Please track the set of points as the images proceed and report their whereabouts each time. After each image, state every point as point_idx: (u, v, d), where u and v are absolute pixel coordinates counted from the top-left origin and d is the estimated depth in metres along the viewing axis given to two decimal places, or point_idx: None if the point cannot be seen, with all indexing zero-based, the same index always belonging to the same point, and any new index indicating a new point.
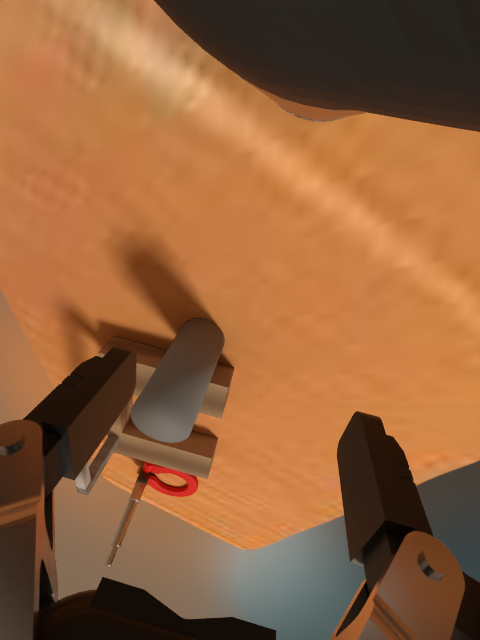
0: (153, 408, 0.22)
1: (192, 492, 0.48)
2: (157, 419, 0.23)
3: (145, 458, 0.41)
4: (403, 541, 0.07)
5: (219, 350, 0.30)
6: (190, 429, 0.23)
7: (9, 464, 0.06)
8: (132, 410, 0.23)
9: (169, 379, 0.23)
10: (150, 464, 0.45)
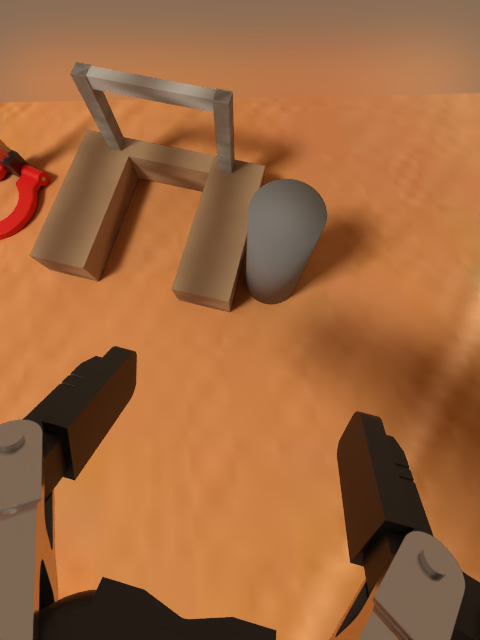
0: (311, 208, 0.19)
1: None
2: (292, 209, 0.19)
3: (73, 174, 0.29)
4: (403, 541, 0.07)
5: (274, 296, 0.27)
6: (281, 246, 0.18)
7: (9, 464, 0.06)
8: (301, 183, 0.19)
9: None
10: (40, 178, 0.31)
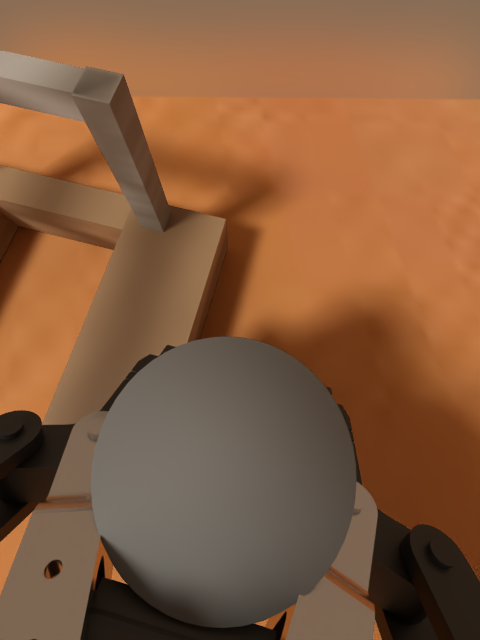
0: (303, 451, 0.06)
1: None
2: (241, 456, 0.06)
3: None
4: None
5: None
6: (192, 617, 0.05)
7: (93, 452, 0.07)
8: (275, 353, 0.06)
9: None
10: None
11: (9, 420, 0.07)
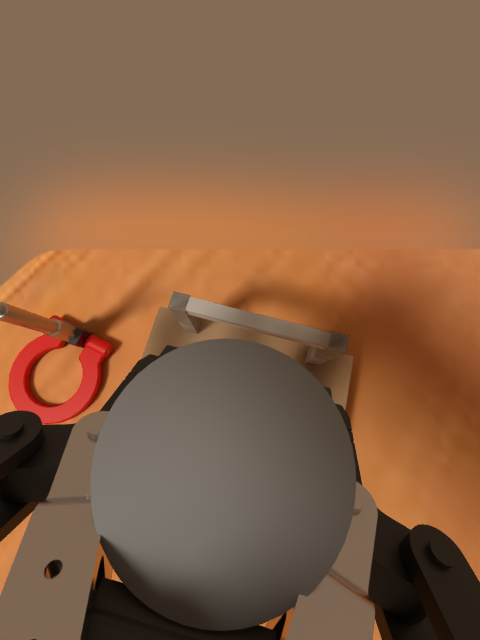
0: (303, 453, 0.06)
1: None
2: (240, 458, 0.06)
3: None
4: None
5: None
6: (192, 620, 0.05)
7: (93, 453, 0.07)
8: (275, 355, 0.06)
9: None
10: (106, 352, 0.29)
11: (9, 420, 0.07)
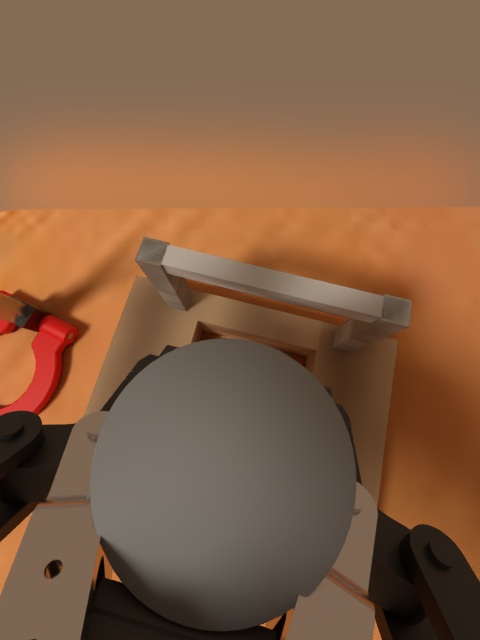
0: (303, 453, 0.06)
1: None
2: (240, 458, 0.06)
3: (118, 350, 0.20)
4: None
5: None
6: (191, 621, 0.05)
7: (93, 453, 0.07)
8: (275, 355, 0.06)
9: None
10: (66, 338, 0.22)
11: (9, 420, 0.07)
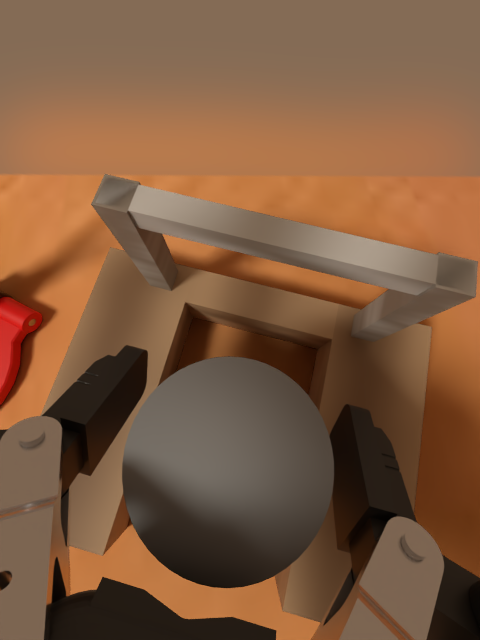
0: (292, 450, 0.07)
1: None
2: (242, 454, 0.07)
3: (85, 337, 0.16)
4: (385, 526, 0.07)
5: None
6: (204, 580, 0.06)
7: (29, 460, 0.07)
8: (270, 370, 0.07)
9: None
10: (26, 324, 0.18)
11: None
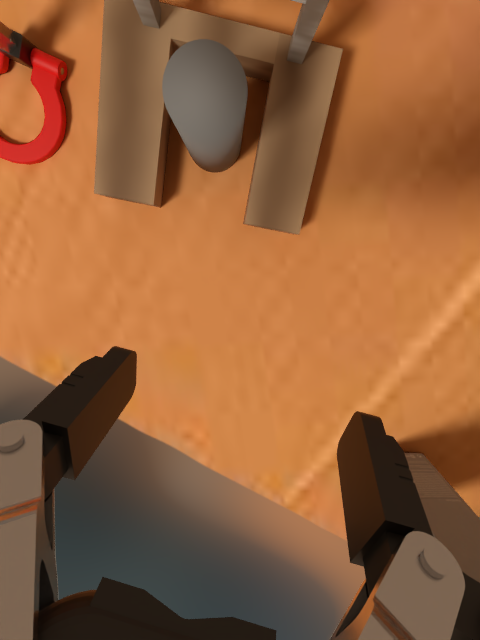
0: (230, 84, 0.17)
1: None
2: (210, 87, 0.17)
3: (108, 73, 0.23)
4: (403, 541, 0.07)
5: (216, 167, 0.26)
6: (200, 137, 0.18)
7: (9, 464, 0.06)
8: (219, 45, 0.17)
9: None
10: (59, 71, 0.25)
11: None
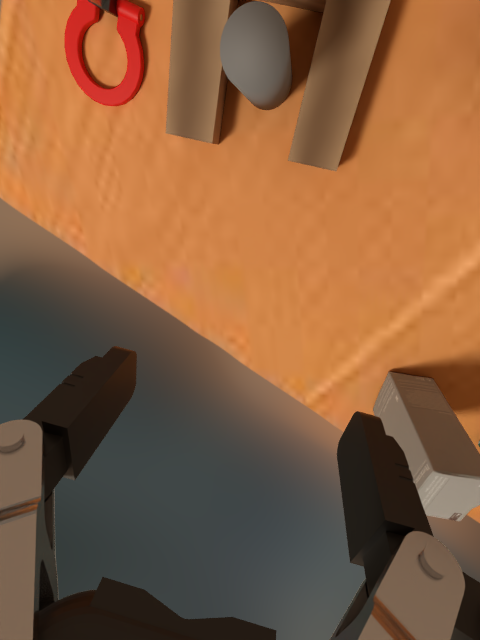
0: (274, 41, 0.21)
1: (94, 96, 0.33)
2: (257, 45, 0.21)
3: (179, 20, 0.27)
4: (403, 541, 0.07)
5: (267, 107, 0.30)
6: (248, 90, 0.22)
7: (9, 465, 0.06)
8: (267, 6, 0.20)
9: (289, 59, 0.23)
10: (139, 19, 0.29)
11: None
